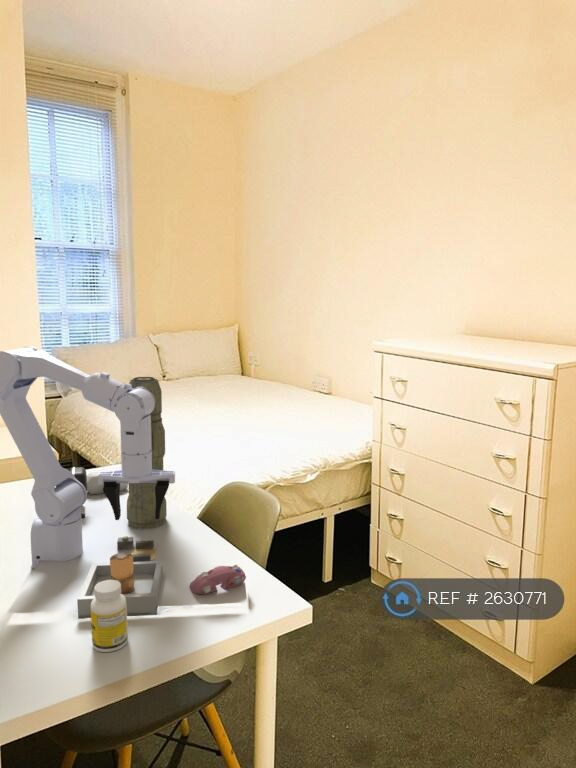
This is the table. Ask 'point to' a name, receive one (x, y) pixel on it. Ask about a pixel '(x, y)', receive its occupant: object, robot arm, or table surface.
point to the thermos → (143, 494)
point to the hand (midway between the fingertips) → (137, 517)
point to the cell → (123, 571)
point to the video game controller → (218, 579)
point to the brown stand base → (138, 548)
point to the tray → (134, 602)
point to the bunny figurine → (93, 484)
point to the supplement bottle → (109, 617)
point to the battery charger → (82, 478)
